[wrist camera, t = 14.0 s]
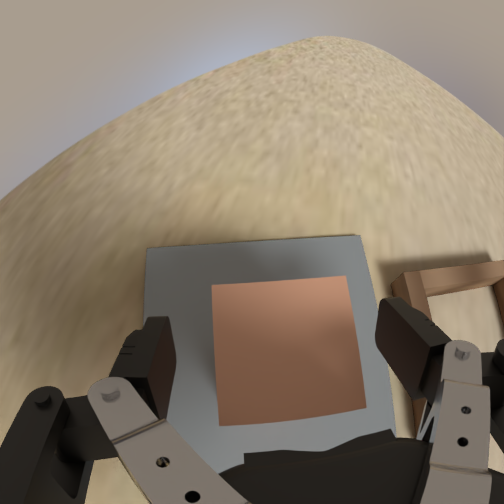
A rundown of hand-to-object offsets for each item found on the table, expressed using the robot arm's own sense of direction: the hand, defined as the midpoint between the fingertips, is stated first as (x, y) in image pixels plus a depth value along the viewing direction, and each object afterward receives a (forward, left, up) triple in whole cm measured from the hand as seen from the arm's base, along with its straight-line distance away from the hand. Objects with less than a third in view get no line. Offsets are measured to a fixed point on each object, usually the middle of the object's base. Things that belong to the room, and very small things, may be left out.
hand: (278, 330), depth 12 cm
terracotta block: (0, -1, -6) cm, 6 cm away
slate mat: (0, -1, -7) cm, 7 cm away
